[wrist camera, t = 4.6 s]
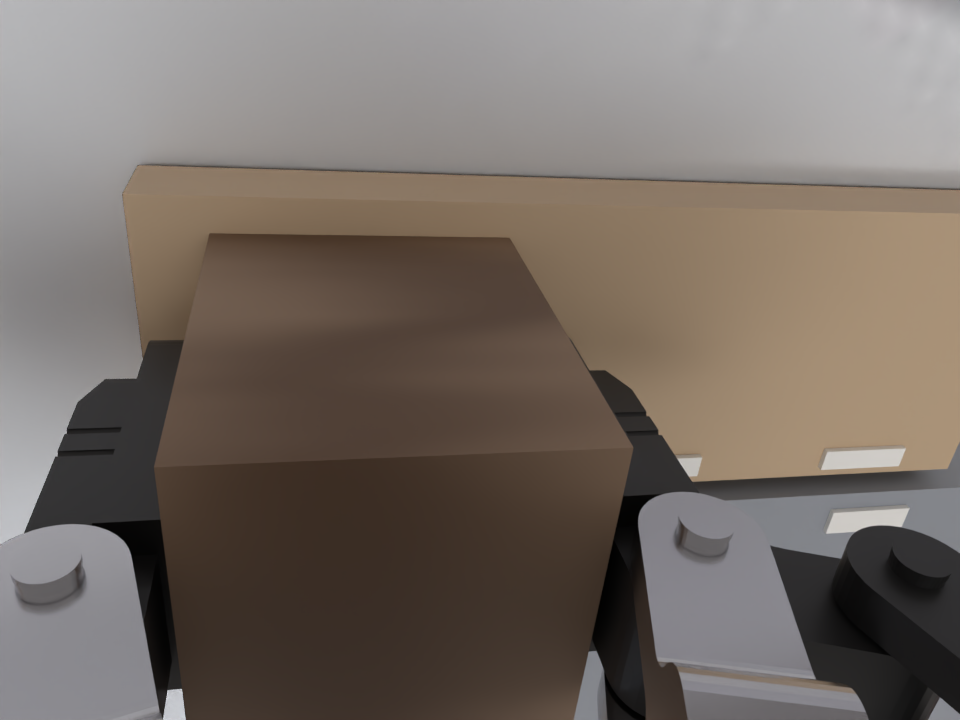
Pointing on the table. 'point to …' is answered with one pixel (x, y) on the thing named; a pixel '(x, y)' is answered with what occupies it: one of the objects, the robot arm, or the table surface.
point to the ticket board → (830, 524)
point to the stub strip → (661, 292)
